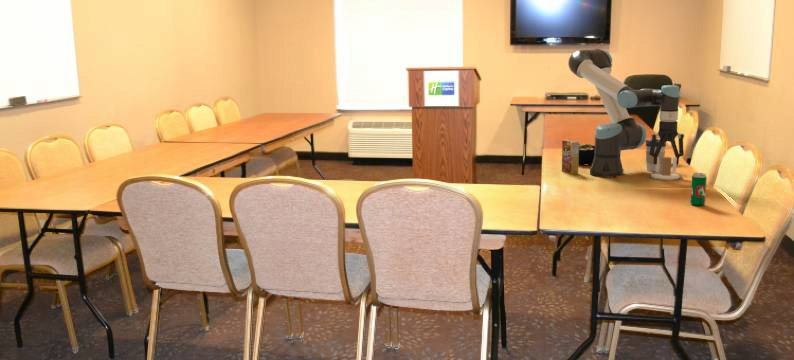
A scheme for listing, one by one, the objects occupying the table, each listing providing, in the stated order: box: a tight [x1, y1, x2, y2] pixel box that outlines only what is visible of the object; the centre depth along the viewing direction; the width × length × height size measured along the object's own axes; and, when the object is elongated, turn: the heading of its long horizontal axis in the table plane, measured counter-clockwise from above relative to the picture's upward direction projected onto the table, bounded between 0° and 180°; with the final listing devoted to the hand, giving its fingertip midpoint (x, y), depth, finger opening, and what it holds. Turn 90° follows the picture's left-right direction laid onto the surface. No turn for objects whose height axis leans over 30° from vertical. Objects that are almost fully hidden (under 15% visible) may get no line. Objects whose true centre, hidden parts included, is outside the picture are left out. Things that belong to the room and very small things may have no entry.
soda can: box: [689, 172, 708, 207], centre depth 255 cm, size 5×5×12 cm
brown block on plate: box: [650, 156, 681, 181], centre depth 304 cm, size 12×12×9 cm
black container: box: [578, 143, 595, 166], centre depth 346 cm, size 17×17×10 cm
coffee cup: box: [645, 138, 667, 173], centre depth 321 cm, size 9×9×15 cm
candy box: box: [561, 139, 580, 175], centre depth 323 cm, size 9×4×15 cm, turn 17°
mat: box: [646, 174, 684, 182], centre depth 305 cm, size 15×15×1 cm
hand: (665, 171), depth 304 cm, fingers open, 7 cm apart
